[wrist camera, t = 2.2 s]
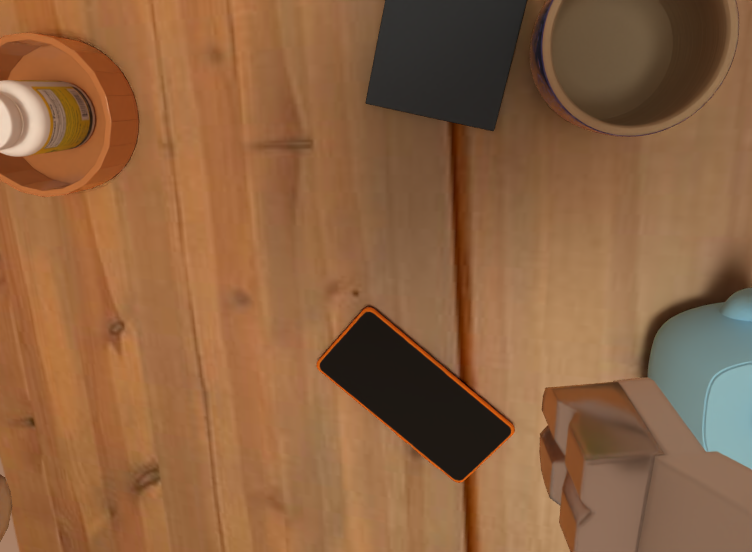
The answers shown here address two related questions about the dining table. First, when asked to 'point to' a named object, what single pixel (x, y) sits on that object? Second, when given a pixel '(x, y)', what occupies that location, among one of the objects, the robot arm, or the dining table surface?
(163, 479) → the dining table surface
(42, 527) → the dining table surface
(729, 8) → the planter
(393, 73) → the mat
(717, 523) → the robot arm
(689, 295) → the dining table surface
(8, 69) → the round wooden tray
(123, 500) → the dining table surface
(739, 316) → the teapot
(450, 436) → the smartphone
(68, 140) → the supplement bottle
